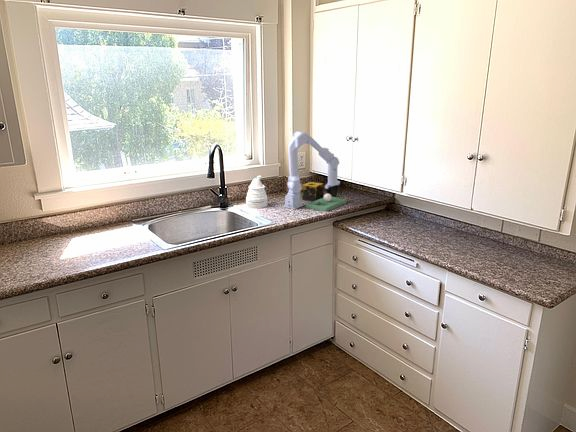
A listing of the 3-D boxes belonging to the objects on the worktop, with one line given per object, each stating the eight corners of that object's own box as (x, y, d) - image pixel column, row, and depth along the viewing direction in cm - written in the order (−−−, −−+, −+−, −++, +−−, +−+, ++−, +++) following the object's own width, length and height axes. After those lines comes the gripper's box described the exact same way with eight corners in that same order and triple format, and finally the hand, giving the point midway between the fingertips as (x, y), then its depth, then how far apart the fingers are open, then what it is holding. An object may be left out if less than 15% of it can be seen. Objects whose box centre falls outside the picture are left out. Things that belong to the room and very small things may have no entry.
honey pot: (269, 202, 264) (268, 174, 259) (265, 208, 252) (265, 178, 247) (248, 202, 266) (247, 173, 260) (244, 208, 253) (243, 178, 248)
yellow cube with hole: (323, 198, 273) (324, 183, 270) (316, 202, 265) (316, 186, 262) (309, 196, 278) (309, 181, 275) (301, 200, 270) (301, 184, 267)
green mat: (326, 211, 245) (326, 208, 245) (306, 207, 253) (306, 204, 253) (346, 202, 264) (346, 199, 263) (327, 198, 272) (327, 195, 271)
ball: (329, 203, 256) (328, 195, 254) (322, 202, 258) (321, 194, 256) (333, 200, 259) (333, 192, 257) (326, 199, 262) (326, 191, 260)
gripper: (332, 179, 250) (331, 201, 254) (344, 174, 261) (343, 196, 266) (321, 177, 254) (321, 199, 258) (334, 173, 265) (334, 194, 270)
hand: (332, 197), depth 262 cm, fingers open, 4 cm apart
